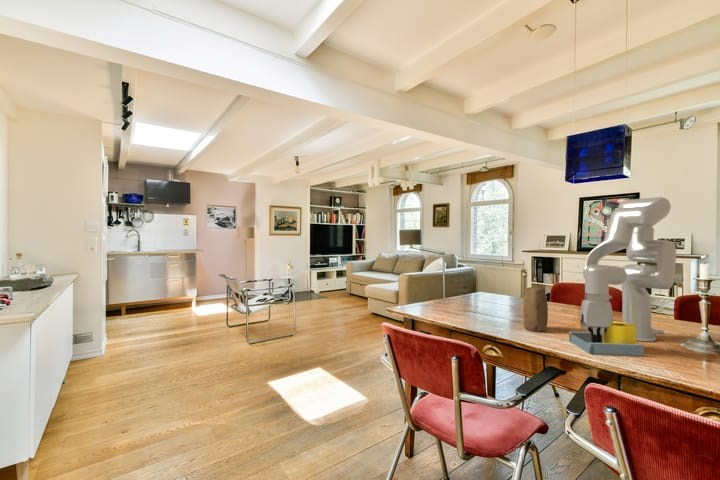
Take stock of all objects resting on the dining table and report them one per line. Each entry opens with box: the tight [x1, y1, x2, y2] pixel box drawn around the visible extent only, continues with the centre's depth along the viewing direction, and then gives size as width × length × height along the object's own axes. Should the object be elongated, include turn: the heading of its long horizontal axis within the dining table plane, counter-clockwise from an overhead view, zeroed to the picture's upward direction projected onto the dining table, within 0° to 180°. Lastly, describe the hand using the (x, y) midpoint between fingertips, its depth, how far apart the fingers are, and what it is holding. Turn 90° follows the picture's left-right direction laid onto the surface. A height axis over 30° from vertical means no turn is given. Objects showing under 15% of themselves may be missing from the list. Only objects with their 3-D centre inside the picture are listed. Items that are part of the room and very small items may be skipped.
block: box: [522, 286, 549, 333], centre depth 152 cm, size 11×8×20 cm
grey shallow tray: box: [568, 331, 645, 357], centre depth 126 cm, size 18×15×4 cm
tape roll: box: [603, 320, 637, 344], centre depth 125 cm, size 10×10×9 cm
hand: (596, 344), depth 126 cm, fingers closed
